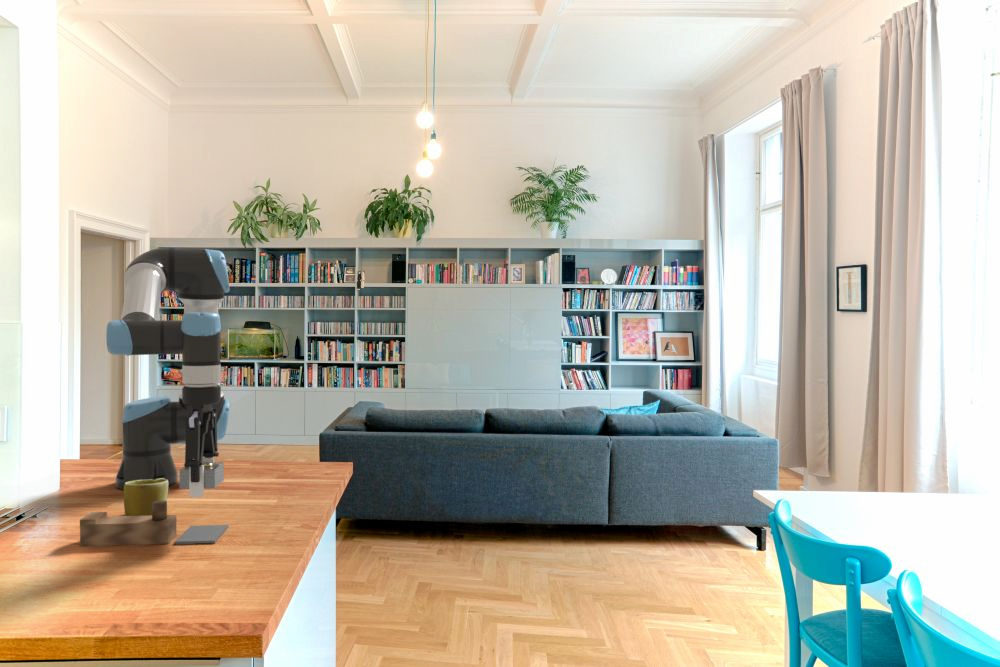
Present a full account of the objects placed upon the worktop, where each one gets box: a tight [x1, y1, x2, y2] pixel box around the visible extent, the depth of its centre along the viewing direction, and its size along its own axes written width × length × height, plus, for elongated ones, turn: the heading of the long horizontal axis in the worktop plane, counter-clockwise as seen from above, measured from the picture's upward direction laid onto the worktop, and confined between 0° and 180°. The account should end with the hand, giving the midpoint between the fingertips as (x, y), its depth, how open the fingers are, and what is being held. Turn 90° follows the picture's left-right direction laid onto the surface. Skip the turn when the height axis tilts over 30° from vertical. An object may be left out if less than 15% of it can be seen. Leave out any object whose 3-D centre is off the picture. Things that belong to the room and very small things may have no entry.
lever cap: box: [179, 461, 225, 490], centre depth 143 cm, size 7×6×5 cm
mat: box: [174, 524, 229, 545], centre depth 144 cm, size 10×8×1 cm
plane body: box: [79, 501, 177, 547], centre depth 140 cm, size 17×5×8 cm, turn 97°
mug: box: [123, 478, 169, 516], centre depth 158 cm, size 12×10×10 cm
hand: (202, 491), depth 143 cm, fingers closed on lever cap, 6 cm apart
